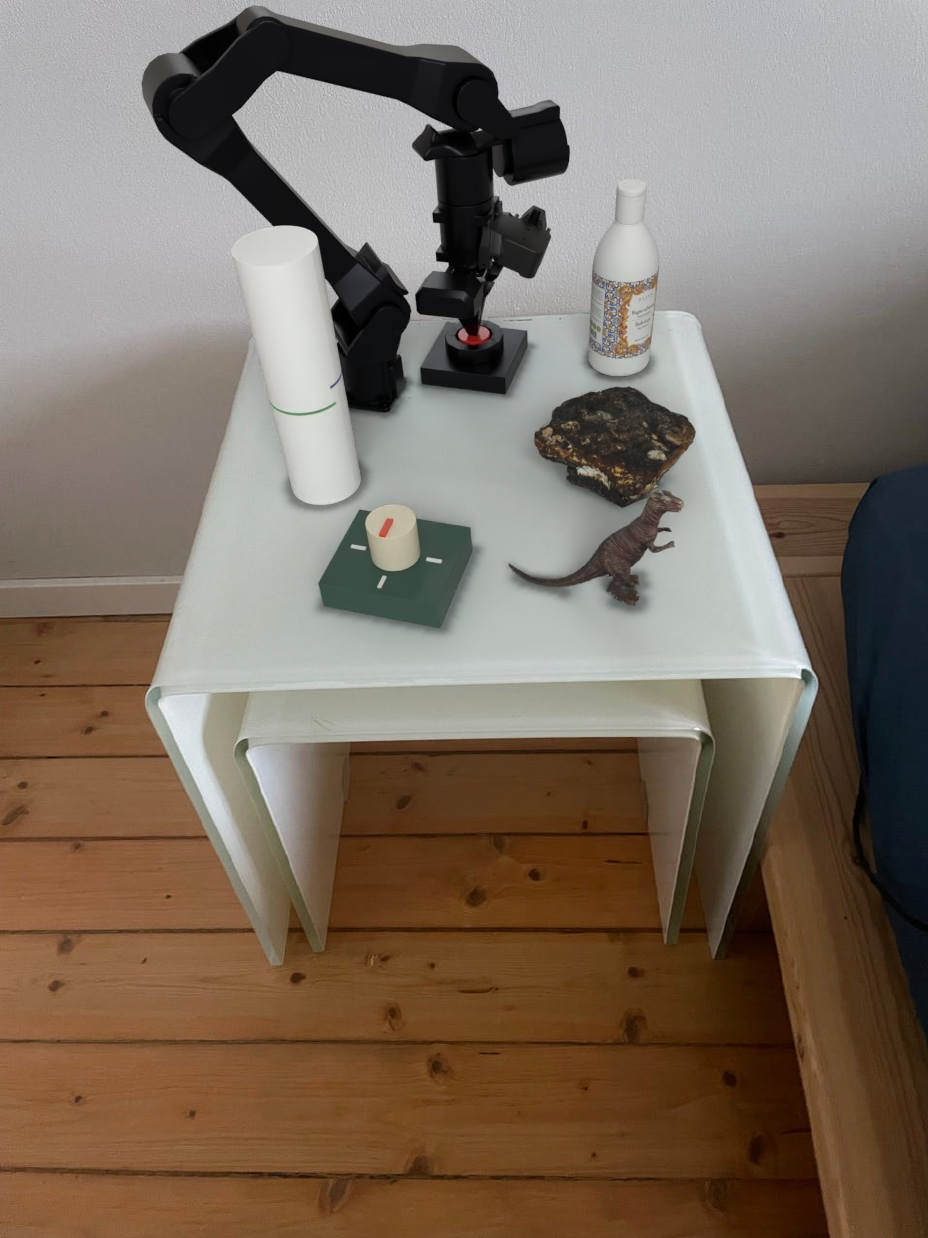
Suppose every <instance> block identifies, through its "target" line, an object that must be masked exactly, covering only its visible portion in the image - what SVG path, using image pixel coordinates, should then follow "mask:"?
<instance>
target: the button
mask: <svg viewBox="0 0 928 1238" xmlns="http://www.w3.org/2000/svg"><path fill="white" fill-rule="evenodd" d="M488 340H490V332H489V330H488V329H487V328H485V327H482V326H480V329H479V332H478V334H477V336H471V335H468V334H467V332H466V331H465V329H464V328H463V329H461V330H460V331H459V333H458V341H459V342H461V343H463V344H469V345H476V344H482V343H484V342H486V341H488Z"/></svg>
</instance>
